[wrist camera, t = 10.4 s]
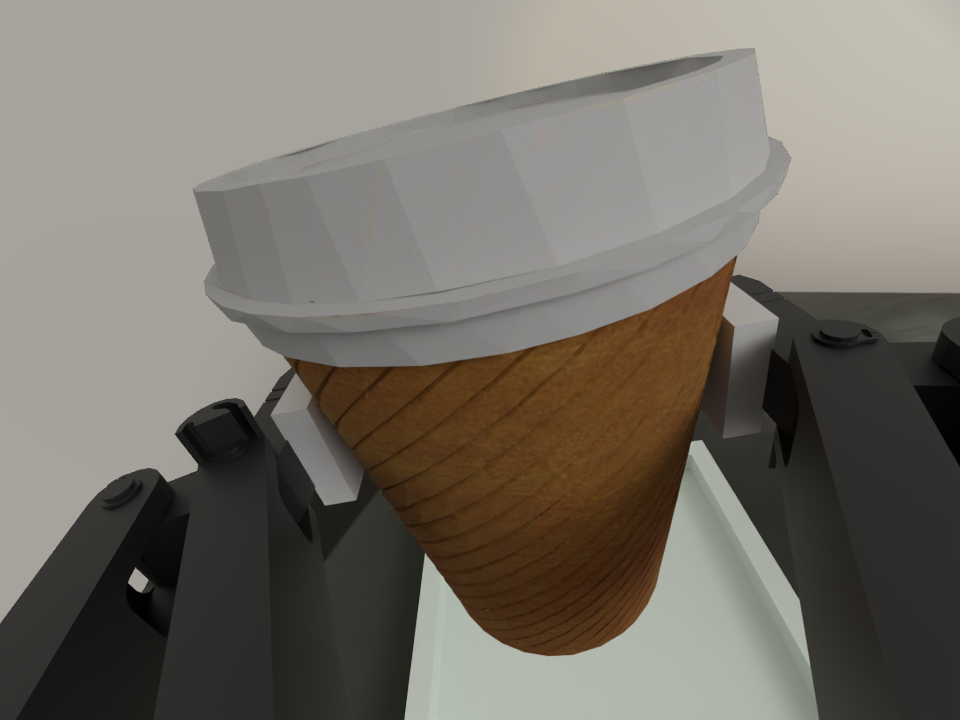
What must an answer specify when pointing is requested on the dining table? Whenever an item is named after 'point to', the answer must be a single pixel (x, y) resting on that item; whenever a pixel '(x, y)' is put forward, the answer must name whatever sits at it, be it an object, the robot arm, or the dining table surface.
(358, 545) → the dining table surface
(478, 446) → the disposable coffee cup
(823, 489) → the robot arm
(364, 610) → the dining table surface
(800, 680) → the tray
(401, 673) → the dining table surface
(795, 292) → the dining table surface
